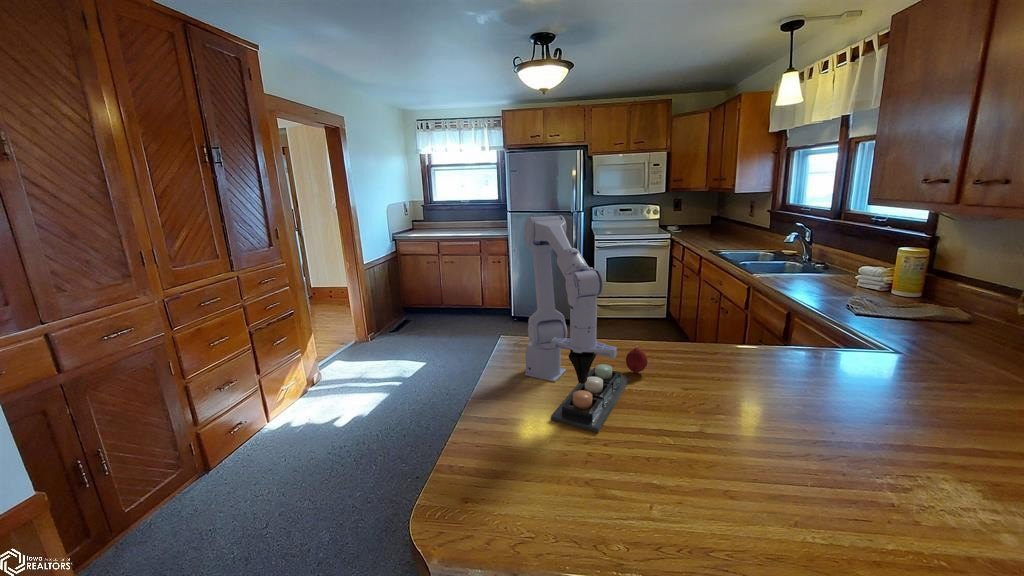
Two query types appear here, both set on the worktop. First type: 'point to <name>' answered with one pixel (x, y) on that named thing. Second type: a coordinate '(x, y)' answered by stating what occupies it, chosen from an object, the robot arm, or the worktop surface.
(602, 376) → the button sage
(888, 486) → the worktop surface
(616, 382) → the tray
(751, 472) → the worktop surface
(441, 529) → the worktop surface
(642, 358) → the onion
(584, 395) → the button terracotta
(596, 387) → the button cream
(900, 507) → the worktop surface
